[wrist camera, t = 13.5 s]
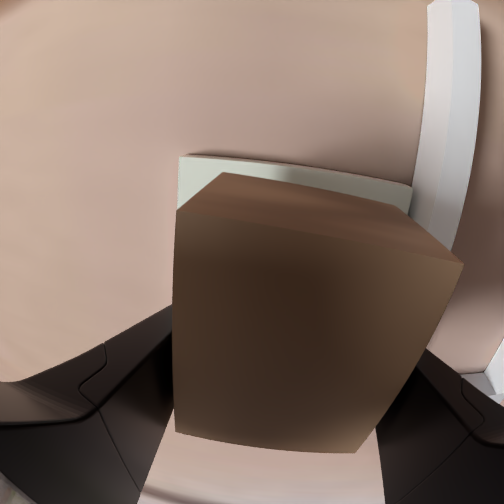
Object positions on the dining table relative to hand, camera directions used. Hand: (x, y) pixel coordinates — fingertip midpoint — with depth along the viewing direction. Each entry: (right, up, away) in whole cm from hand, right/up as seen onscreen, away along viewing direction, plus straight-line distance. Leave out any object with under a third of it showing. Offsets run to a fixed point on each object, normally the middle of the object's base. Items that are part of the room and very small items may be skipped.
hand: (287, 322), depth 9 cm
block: (0, +1, +1) cm, 1 cm away
